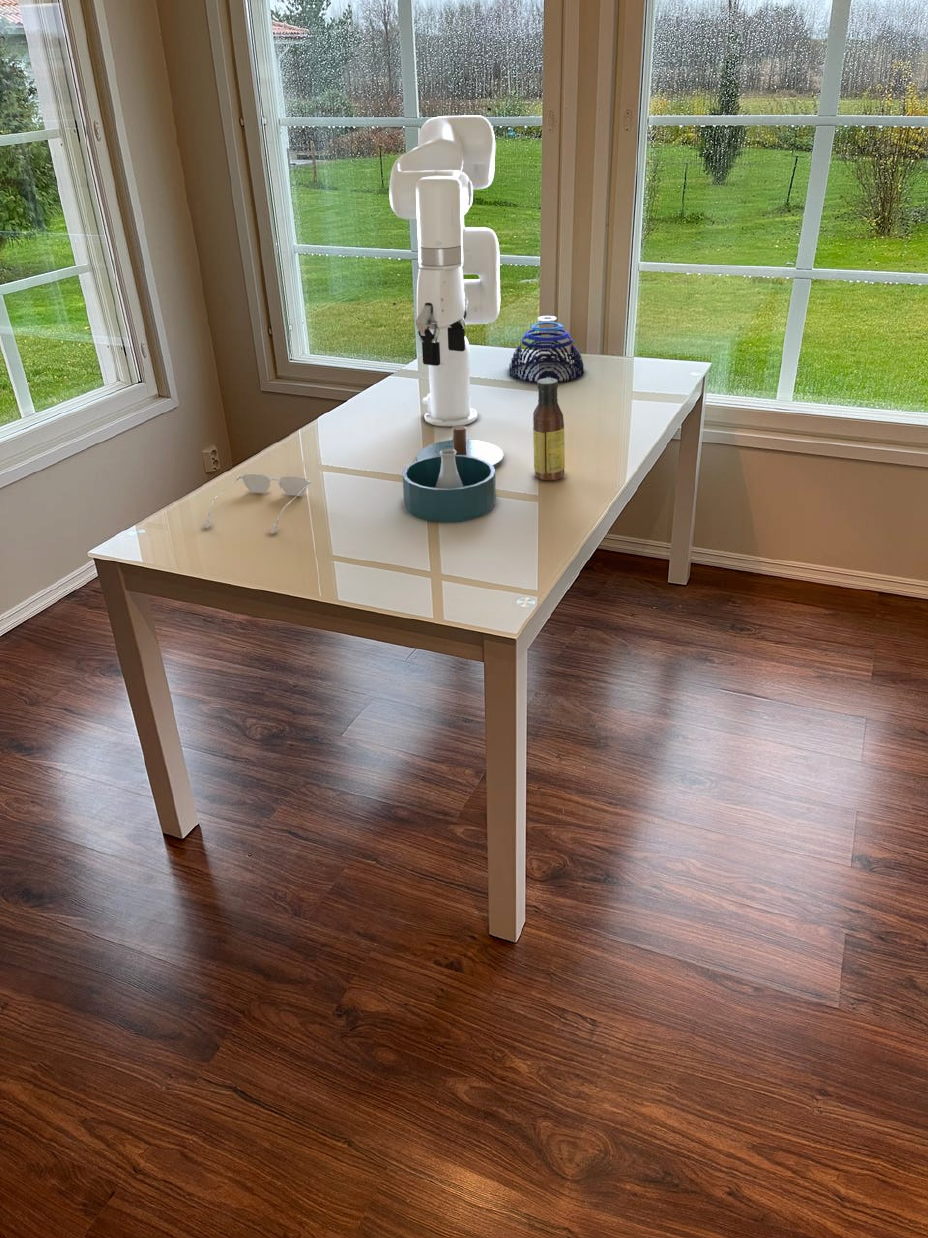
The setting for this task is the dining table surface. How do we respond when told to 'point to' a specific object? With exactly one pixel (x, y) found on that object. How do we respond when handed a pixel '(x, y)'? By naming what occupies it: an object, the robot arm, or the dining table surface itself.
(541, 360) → the decorative bowl
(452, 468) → the flask
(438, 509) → the pot
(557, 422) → the sauce bottle
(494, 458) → the lid
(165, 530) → the dining table surface
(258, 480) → the eyeglasses
